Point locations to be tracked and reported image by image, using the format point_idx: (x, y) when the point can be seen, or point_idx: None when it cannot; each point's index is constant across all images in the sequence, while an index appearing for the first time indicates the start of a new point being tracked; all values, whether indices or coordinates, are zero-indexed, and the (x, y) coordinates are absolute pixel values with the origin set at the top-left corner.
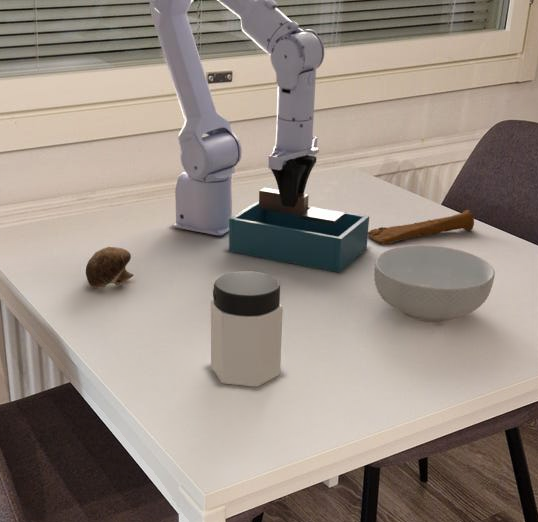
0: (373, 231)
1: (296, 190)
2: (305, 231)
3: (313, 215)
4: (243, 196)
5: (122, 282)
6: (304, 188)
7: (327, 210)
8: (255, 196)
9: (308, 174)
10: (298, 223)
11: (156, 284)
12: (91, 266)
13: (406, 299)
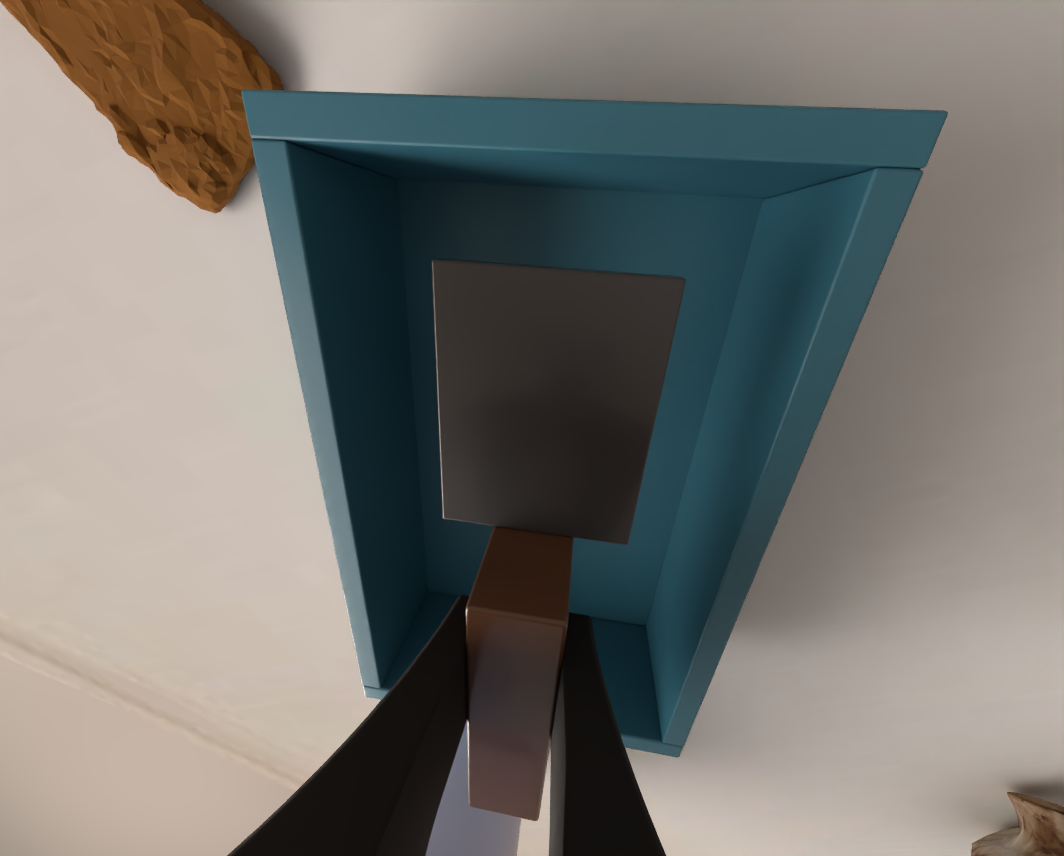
0: (198, 171)
1: (611, 743)
2: (789, 446)
3: (603, 470)
4: (220, 671)
5: (1043, 800)
6: (423, 673)
7: (447, 411)
8: (196, 649)
9: (330, 813)
10: (401, 511)
11: (1016, 732)
12: None
13: None
